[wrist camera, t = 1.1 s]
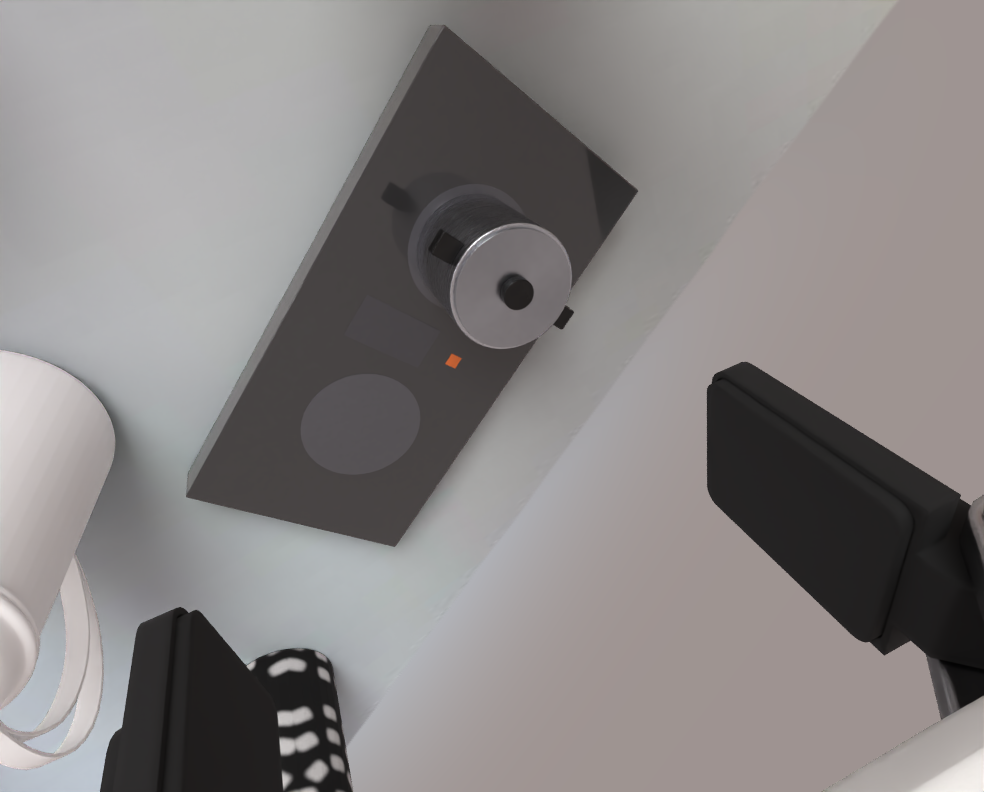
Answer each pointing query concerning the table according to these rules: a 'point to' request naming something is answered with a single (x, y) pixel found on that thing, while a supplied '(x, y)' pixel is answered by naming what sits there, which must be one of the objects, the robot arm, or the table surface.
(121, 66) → the table surface
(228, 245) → the table surface
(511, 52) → the table surface
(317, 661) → the white-spotted black cylinder
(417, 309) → the hot plate
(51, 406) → the coffeepot
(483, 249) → the pot
